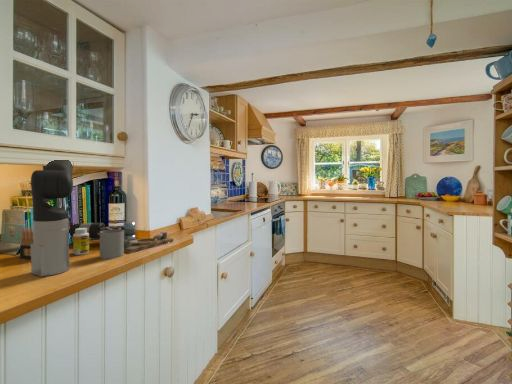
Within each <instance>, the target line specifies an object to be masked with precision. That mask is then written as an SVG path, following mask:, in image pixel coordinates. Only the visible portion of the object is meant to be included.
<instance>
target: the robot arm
mask: <svg viewBox="0 0 512 384" xmlns="http://www.w3.org/2000/svg"><path fill="white" fill-rule="evenodd" d="M73 170H74V165H73V166H72V164H71V162H70V161H69V160H54V161H51V162H49V163H48V164H47V165H46V166H43V165H42V170H41V169H39V170H38V169H37V170H34V171H33V172H32V174H31V175H30V176H31V177H30V187H31V188H30V189H31V190H30V191H31V199H32V226H33V227H32V229H33V235H34V244H31V259H30V264H31V265H30V267H31V270H30V271H31V275H34V276H38V277H42V278H43V277H45V276H51V275H52V276H53V275H58V274H62V273H65V272H67V271H69V270H70V246H69V245H70V239H69V233H70V235H71V236H72V237H73V234H75V229H77V228H87V233H89V240H100V231H103V230H110V229H122V230H124V225H108V226H106V224H105V223H103V222H84V223H81V222H80V223H77V224H75V223H73V224H74V225H73V226H72V227H71V228H70V230H69V225H70V224H69V211H68V210H67V209H66V210H65V209H61V208H57V207H54V206H51V205H49V204H48V203H47V199H57V198H65V199H66V198H69V197H70V196H71V194H73V193H72V192H73V190H74V189H73V188H74V180H73Z"/></svg>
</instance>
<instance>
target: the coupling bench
mask: <svg viewBox="0 0 512 384" xmlns="http://www.w3.org/2000/svg"><path fill="white" fill-rule="evenodd" d="M167 236H168V232H166V231H163V232H160V233H158V234H156V235H155V236H153V237H144V238H139V239H135V241H128V240H124V253H127V254H133V253H136V252H140V251H145V250H147V249H151V248H155V247H159V246H162V244H163V245H166V243H167V244H169V243H168V242H171V243H173V242H174V238H170V237H167ZM172 241H173V242H172Z"/></svg>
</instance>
